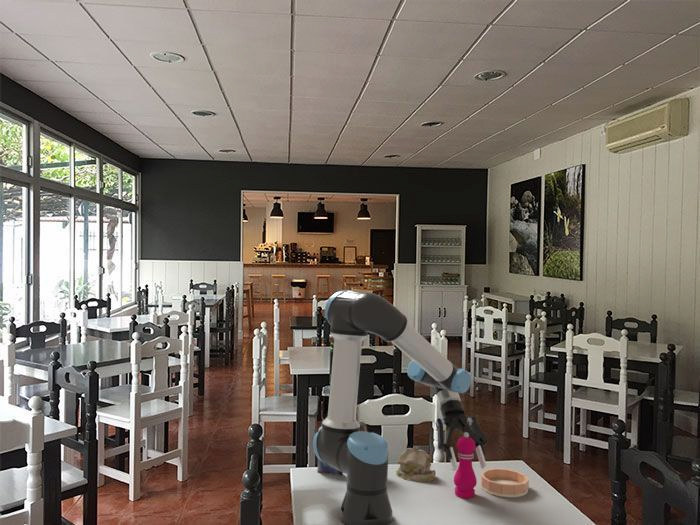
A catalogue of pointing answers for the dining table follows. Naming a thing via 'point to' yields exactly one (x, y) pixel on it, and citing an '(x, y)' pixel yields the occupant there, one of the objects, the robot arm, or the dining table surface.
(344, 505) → the robot arm
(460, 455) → the pepper mill
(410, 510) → the dining table surface
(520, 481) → the terracotta bowl
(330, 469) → the flask
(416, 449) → the ceramic model
